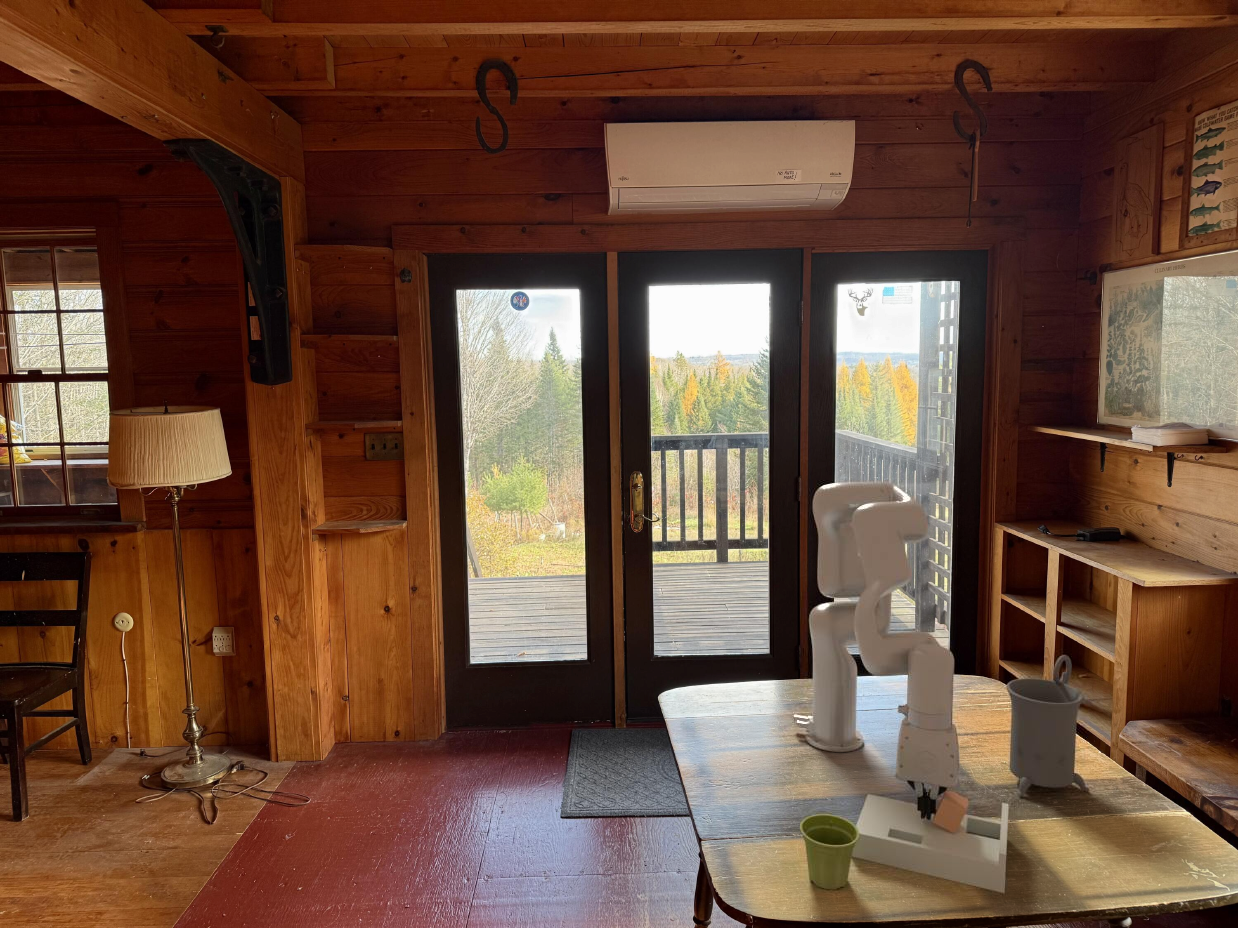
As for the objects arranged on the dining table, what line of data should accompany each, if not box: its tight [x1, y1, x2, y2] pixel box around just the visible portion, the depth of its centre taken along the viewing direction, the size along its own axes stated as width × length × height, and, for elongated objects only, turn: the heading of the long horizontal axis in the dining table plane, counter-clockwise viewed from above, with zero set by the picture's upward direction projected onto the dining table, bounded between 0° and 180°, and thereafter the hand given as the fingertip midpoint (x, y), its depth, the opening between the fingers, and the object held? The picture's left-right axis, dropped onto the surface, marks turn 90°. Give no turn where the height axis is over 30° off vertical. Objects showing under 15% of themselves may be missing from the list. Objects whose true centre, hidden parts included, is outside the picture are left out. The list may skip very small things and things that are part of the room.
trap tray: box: [852, 793, 1009, 894], centre depth 144 cm, size 24×17×6 cm
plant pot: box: [799, 813, 859, 891], centre depth 136 cm, size 9×9×9 cm
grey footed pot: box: [1005, 654, 1090, 798], centre depth 165 cm, size 19×15×25 cm
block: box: [933, 791, 970, 834], centre depth 145 cm, size 4×4×5 cm
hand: (926, 815), depth 147 cm, fingers closed
